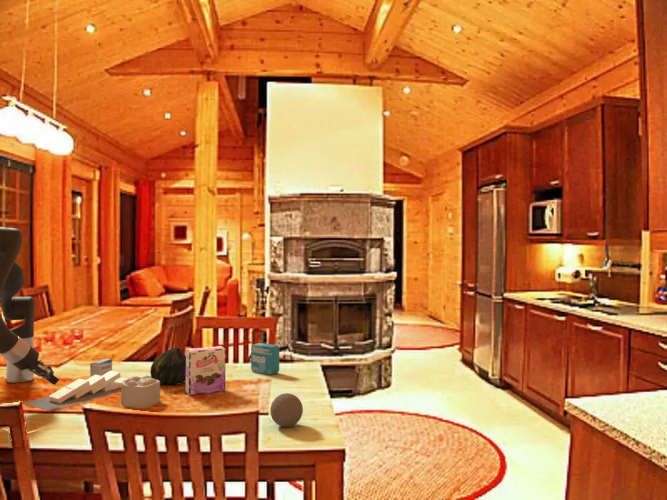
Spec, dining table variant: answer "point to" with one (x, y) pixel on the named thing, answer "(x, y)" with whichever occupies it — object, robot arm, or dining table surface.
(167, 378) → the squash
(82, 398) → the mat
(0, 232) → the robot arm
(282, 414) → the decorative ball
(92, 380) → the domino
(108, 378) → the domino
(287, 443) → the dining table surface
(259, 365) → the data package
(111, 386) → the domino
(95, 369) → the medicine box
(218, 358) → the candy box
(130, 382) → the lumpy-topped squat cylinder
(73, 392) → the domino
